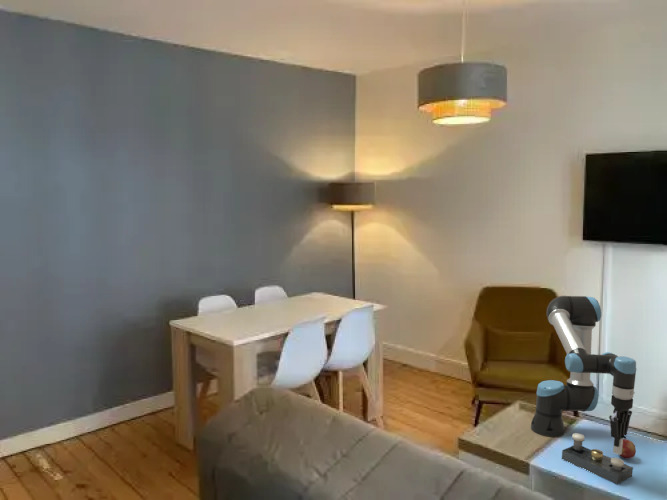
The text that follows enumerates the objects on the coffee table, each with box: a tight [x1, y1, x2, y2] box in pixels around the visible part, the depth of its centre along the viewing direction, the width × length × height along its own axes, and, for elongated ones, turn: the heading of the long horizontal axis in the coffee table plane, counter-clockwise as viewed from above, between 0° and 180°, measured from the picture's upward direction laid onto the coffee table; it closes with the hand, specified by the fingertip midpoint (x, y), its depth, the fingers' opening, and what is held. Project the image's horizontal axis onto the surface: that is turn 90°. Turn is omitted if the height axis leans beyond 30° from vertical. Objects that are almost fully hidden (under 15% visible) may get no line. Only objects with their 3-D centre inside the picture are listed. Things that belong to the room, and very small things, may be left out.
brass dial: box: [590, 448, 604, 461], centre depth 226 cm, size 4×4×3 cm
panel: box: [561, 445, 634, 485], centre depth 226 cm, size 24×11×4 cm, turn 34°
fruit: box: [618, 438, 637, 460], centre depth 235 cm, size 8×8×8 cm
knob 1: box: [572, 432, 585, 451], centre depth 233 cm, size 5×5×6 cm
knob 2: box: [610, 457, 625, 471], centre depth 219 cm, size 5×5×6 cm
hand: (617, 453), depth 219 cm, fingers closed
